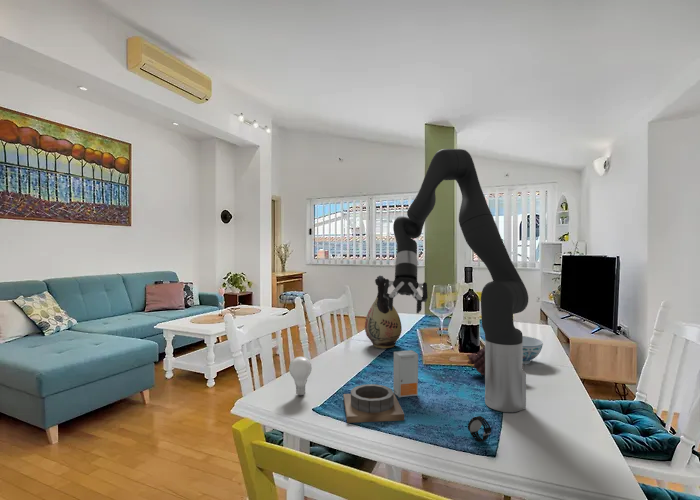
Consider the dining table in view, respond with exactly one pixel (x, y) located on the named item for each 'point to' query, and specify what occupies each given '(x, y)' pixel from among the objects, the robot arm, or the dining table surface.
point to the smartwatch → (476, 425)
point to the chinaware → (531, 348)
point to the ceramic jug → (382, 320)
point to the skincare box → (405, 373)
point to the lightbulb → (300, 373)
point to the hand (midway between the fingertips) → (404, 311)
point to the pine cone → (478, 361)
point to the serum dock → (372, 404)
